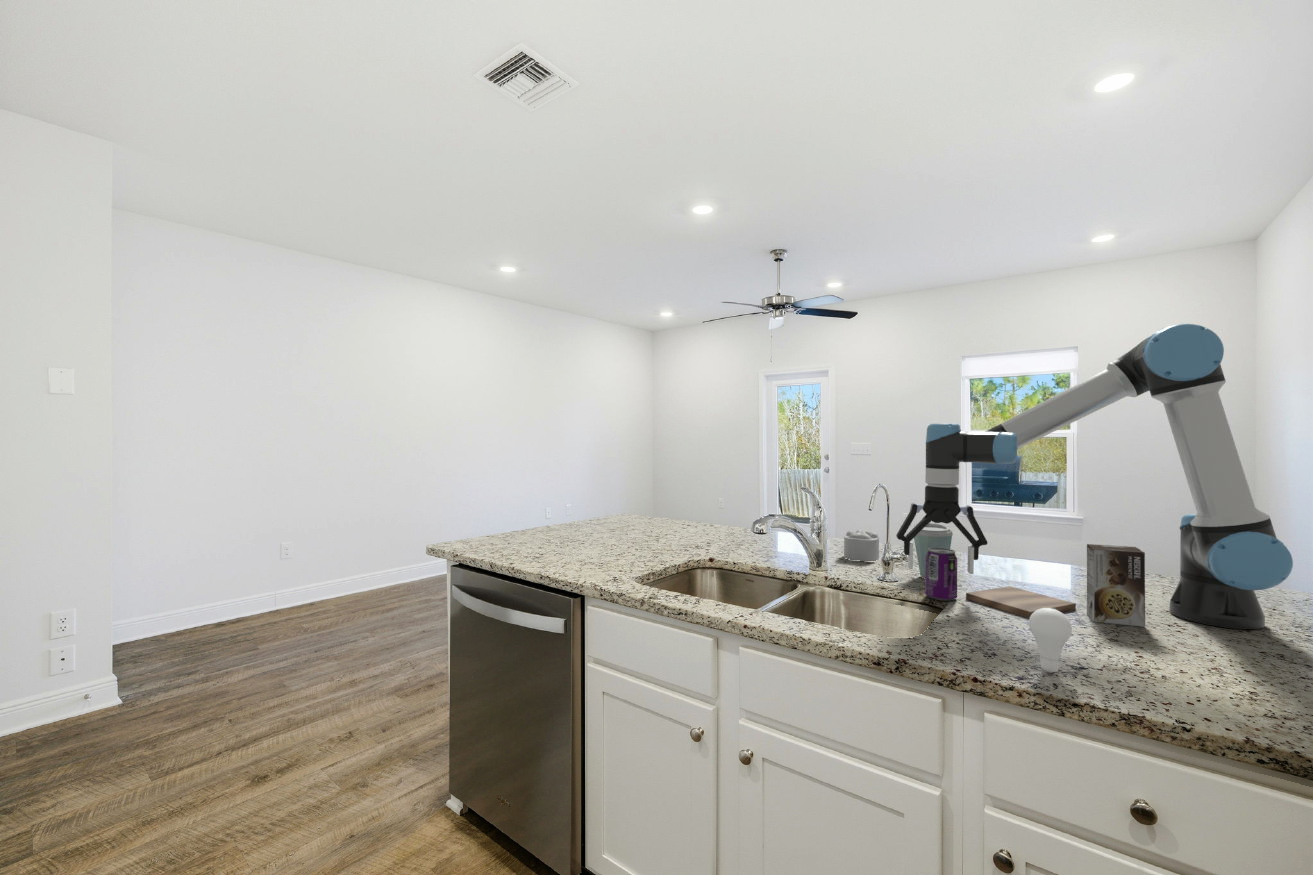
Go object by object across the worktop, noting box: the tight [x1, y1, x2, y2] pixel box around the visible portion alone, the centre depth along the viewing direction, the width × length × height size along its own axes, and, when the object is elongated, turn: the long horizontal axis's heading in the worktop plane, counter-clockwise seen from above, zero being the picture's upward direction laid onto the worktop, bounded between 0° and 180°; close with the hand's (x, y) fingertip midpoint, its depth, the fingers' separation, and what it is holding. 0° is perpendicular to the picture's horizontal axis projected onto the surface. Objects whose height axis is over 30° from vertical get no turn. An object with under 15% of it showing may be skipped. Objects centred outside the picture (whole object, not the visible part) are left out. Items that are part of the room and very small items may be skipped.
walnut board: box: [965, 585, 1077, 619], centre depth 137 cm, size 16×16×2 cm
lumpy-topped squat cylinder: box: [843, 529, 880, 561], centre depth 187 cm, size 10×13×9 cm
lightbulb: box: [1028, 608, 1073, 674], centre depth 98 cm, size 6×6×11 cm
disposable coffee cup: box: [913, 522, 954, 579], centre depth 161 cm, size 11×11×15 cm
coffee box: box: [1086, 543, 1146, 628], centre depth 125 cm, size 9×6×16 cm
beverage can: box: [924, 548, 958, 602], centre depth 142 cm, size 7×7×12 cm
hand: (939, 570), depth 142 cm, fingers open, 13 cm apart
